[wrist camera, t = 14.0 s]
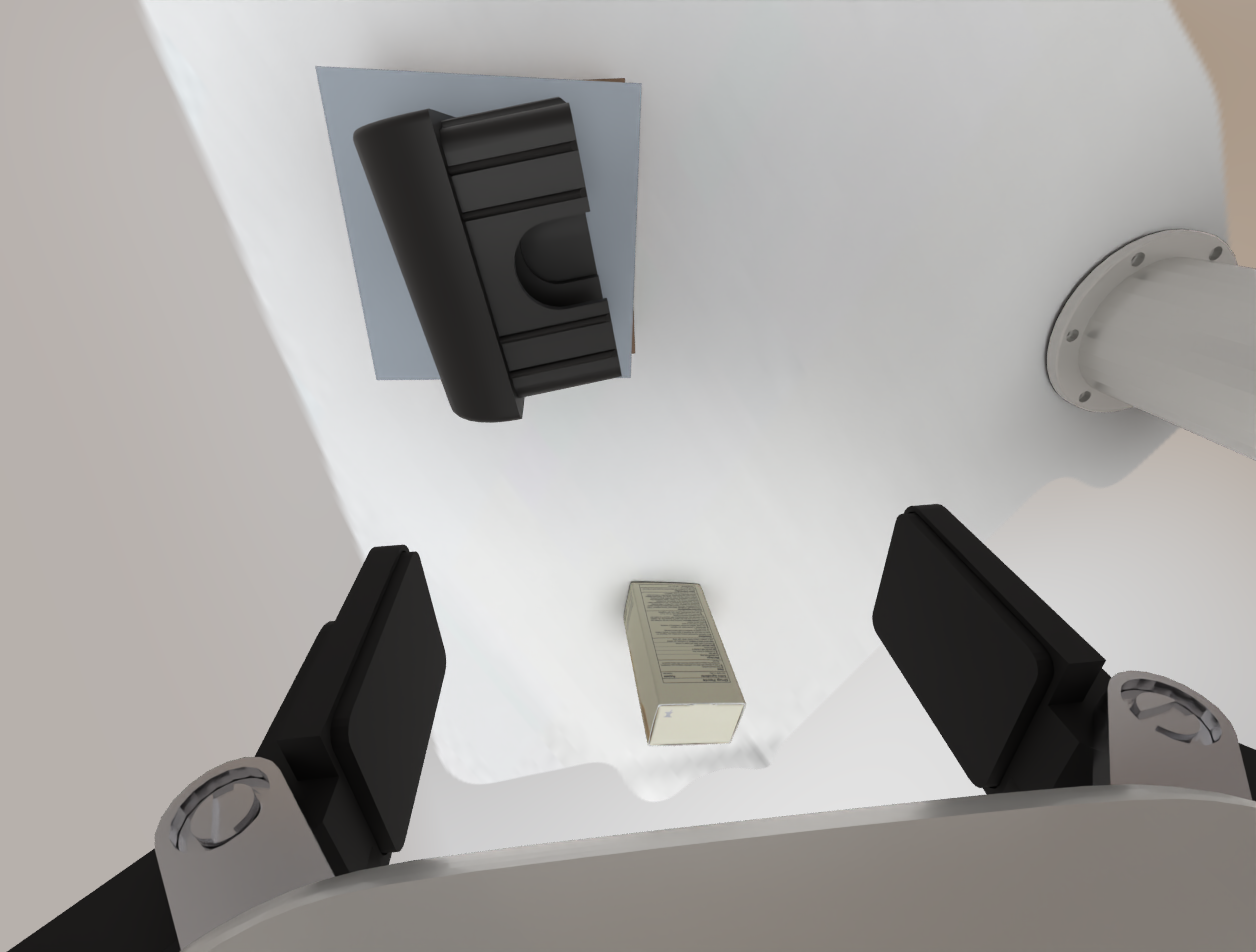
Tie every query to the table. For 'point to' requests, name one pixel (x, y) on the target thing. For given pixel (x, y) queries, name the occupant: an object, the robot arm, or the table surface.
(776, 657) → the table surface
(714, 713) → the skincare box
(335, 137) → the slate top block
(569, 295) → the end cap
